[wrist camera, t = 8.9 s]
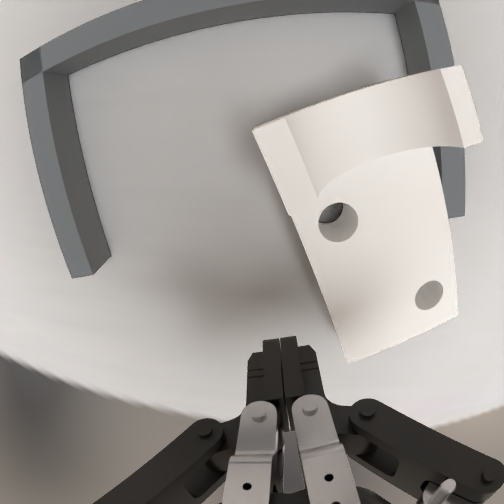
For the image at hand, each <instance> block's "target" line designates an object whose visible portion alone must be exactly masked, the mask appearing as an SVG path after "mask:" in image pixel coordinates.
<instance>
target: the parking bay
mask: <svg viewBox="0 0 504 504" xmlns="http://www.w3.org/2000/svg"><path fill="white" fill-rule="evenodd" d="M323 12H371V13H390V14H395V16H396V20H397V24H398V28H399V32H400V36H401V41H402V45H403V50H404V55H405V60H406V65H407V70H408V75H413V74H417V73H422V72H426V71H431V70H436V69H441V68H446V67H452V66H454V61H453V56H452V51H451V47H450V42H449V38H448V34H447V30H446V26H445V22H444V18H443V14H442V11H441V7H440V4H439V1H438V0H142V1H140V2H137V3H134V4H131V5H128V6H126V7H123V8H120V9H118V10H115V11H113V12H110V13H108V14H105V15H103V16H101V17H98V18H96V19H94V20H92V21H89V22H87V23H85V24H83V25H81V26H79V27H77V28H75V29H73V30H71V31H69V32H67V33H65V34H63V35H61V36H59V37H57V38H55V39H53V40H51V41H50V42H48V43H46V44H44V45H43V46H41V47H39V48H37V49H36V50H34V51H32V52H31V53H29V54H27V55H26V56H24V57H23V58H21V59H20V67H21V78H22V87H23V95H24V103H25V110H26V116H27V122H28V128H29V133H30V139H31V144H32V148H33V153H34V158H35V162H36V166H37V171H38V175H39V179H40V183H41V186H42V190H43V194H44V197H45V201H46V204H47V208H48V211H49V214H50V218H51V221H52V224H53V227H54V230H55V233H56V236H57V239H58V242H59V245H60V248H61V250H62V253H63V256H64V259H65V261H66V264H67V267H68V269H69V272H70V274H71V277H72V278H77V277H84V276H90V275H94V274H95V272H96V271H97V270H98V269H99V268H100V267H101V266H102V265H103V264H104V263H105V262H106V261H107V260H108V259H109V258H110V257H111V254H110V251H109V248H108V245H107V242H106V239H105V235H104V232H103V229H102V226H101V223H100V219H99V216H98V213H97V209H96V206H95V202H94V199H93V195H92V191H91V188H90V184H89V180H88V176H87V172H86V168H85V164H84V160H83V155H82V151H81V146H80V142H79V137H78V132H77V127H76V122H75V117H74V111H73V106H72V100H71V94H70V87H69V80H68V75H69V74H71V73H74V72H76V71H78V70H80V69H82V68H85V67H87V66H89V65H92V64H94V63H96V62H99V61H101V60H104V59H106V58H109V57H111V56H114V55H116V54H119V53H122V52H125V51H127V50H130V49H133V48H136V47H139V46H142V45H145V44H148V43H151V42H154V41H158V40H161V39H164V38H168V37H171V36H175V35H179V34H182V33H186V32H190V31H194V30H198V29H203V28H207V27H212V26H217V25H222V24H227V23H232V22H238V21H244V20H250V19H257V18H264V17H272V16H281V15H292V14H304V13H323ZM432 148H433V151H434V155H435V159H436V163H437V167H438V171H439V175H440V180H441V184H442V189H443V194H444V199H445V204H446V209H447V215H448V218H454V217H460V216H465V156H464V148H460V147H451V146H436V147H432Z"/></svg>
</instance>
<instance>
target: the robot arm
mask: <svg viewBox="0 0 504 504" xmlns="http://www.w3.org/2000/svg"><path fill="white" fill-rule="evenodd" d="M280 342H281V347H280ZM288 416H289V420H288ZM289 422H290V428H291V431H294V430H295V435H296V442H297V448H298V453H299V458H300V463H301V469H302V474H303V479H304V485H305V489H304V490H301V491H298V492H295V493H292V494H284V489H283V475H284V444H285V438H284V432H287V431H289ZM346 454H348V456H349V457H350V458H351V459H353V460H354V461H357V463H359V464H361V465H362V466H364V467H365V468H367V469H368V470H370V471H371V472H373V473H375V474H376V475H378V476H379V477H381V478H383V479H384V480H386V481H387V482H389V483H391V484H393V485H394V486H396V487H397V488H399V489H401V490H403V491H404V492H406V493H408V494H409V495H411V496H413V497H415V498H416V499H418V500H417V502H416V504H483V503H484V502H485V501H487V500H488V499H489V498H490V497H491V496H492V495H493V494H494V493H495V492H496V491H497V490H498V489H499V488H500V487H501V486H502V485H503V483H504V465H503V464H502V463H501V462H500V461H498V460H496V459H494V458H491V457H489V456H486V455H485V454H482V453H480V452H478V451H476V450H474V449H472V448H470V447H467V446H465V445H463V444H461V443H459V442H457V441H455V440H453V439H451V438H449V437H446V436H445V435H442V434H441V433H439V432H437V431H435V430H433V429H431V428H429V427H427V426H425V425H423V424H421V423H419V422H417V421H415V420H413V419H411V418H409V417H407V416H405V415H404V414H402V413H400V412H398V411H396V410H394V409H392V408H391V407H389V406H387V405H385V404H383V403H381V402H379V401H377V400H375V399H362V400H359V401H357V402H355V403H354V404H353V405H352V406H340V405H336V404H333V403H332V402H330V401H329V400H328V399H327V398H326V397H325V394H324V390H323V385H322V381H321V376H320V371H319V366H318V362H317V357H316V352H315V351H314V350H313V349H312V348H311V347H310V345H306V346H300V347H298V345H297V339H296V336H291V337H284V338H280V341H279V338H278V339H271V340H263V352H257V353H252V355H251V357H250V359H249V360H248V372H247V398H246V407H245V408H244V409H243V411H242V413H241V414H240V415H239V416H238V417H236V418H235V419H232V420H230V421H227V422H223V423H219V422H218V421H217V420H214V419H210V418H206V419H201V420H198V421H196V422H195V423H193V424H192V425H191V426H190V427H189V428H188V429H187V430H185V431H184V432H183V433H182V434H181V435H179V436H178V437H177V438H176V439H175V440H174V441H172V442H171V443H170V444H169V445H168V446H167V447H165V448H164V449H163V450H162V451H161V452H159V453H158V454H157V455H156V456H154V457H153V458H152V459H151V460H149V461H148V462H147V463H146V464H144V465H143V466H142V467H141V468H140V469H138V470H137V471H136V472H135V473H133V474H132V475H131V476H129V477H128V478H127V479H125V480H124V481H123V482H121V483H120V484H119V485H118V486H116V487H115V488H114V489H112V490H111V491H109V492H108V493H107V494H105V495H104V496H103V497H102V498H100V499H99V500H97V501H96V502H94V503H93V504H201V503H202V502H204V501H205V500H206V498H208V497H209V496H210V495H211V494H212V493H213V492H214V491H215V490H216V489H217V488H218V487H219V486H220V485H222V483H224V482H225V481H226V482H225V488H224V495H223V501H222V503H219V504H391V503H389V502H388V501H386V500H385V499H383V498H382V497H381V496H379V495H377V494H376V493H374V492H372V491H370V490H368V489H365V488H362V487H357V486H355V482H354V479H353V476H352V472H351V469H350V466H349V462H348V459H347V456H346Z"/></svg>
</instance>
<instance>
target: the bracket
mask: <svg viewBox="0 0 504 504" xmlns="http://www.w3.org/2000/svg"><path fill="white" fill-rule="evenodd" d="M252 132H253V135H254V137H255V139H256V141H257V143H258V146H259V148H260V150H261V152H262V155H263V157H264V159H265V161H266V164H267V166H268V168H269V171H270V173H271V175H272V177H273V180H274V182H275V184H276V187H277V189H278V191H279V194H280V196H281V198H282V201H283V203H284V206H285V208H286V210H287V213H288V215H289V216H290V215H291V217H292V219H293V222H294V224H295V226H296V229H297V231H298V234H299V236H300V239H301V241H302V244H303V246H304V249H305V251H306V254H307V256H308V259H309V261H310V264H311V266H312V269H313V272H314V274H315V277H316V279H317V282H318V285H319V287H320V290H321V292H322V295H323V298H324V300H325V303H326V306H327V308H328V311H329V314H330V316H331V319H332V322H333V325H334V327H335V330H336V333H337V336H338V338H339V341H340V344H341V347H342V350H343V353H344V355H345V358H346V361H347V364H350V363H353V362H355V361H358V360H361V359H363V358H366V357H368V356H371V355H373V354H376V353H378V352H380V351H383V350H385V349H388V348H390V347H392V346H395V345H397V344H399V343H402V342H404V341H406V340H408V339H410V338H413V337H415V336H417V335H419V334H421V333H423V332H426V331H428V330H430V329H432V328H434V327H436V326H438V325H440V324H442V323H444V322H446V321H448V320H450V319H452V318H454V317H456V316H458V301H457V286H456V274H455V264H454V255H453V247H452V240H451V233H450V227H449V220H448V215H447V209H446V204H445V199H444V194H443V189H442V184H441V180H440V175H439V171H438V167H437V163H436V159H435V155H434V151H433V148H432V147H436V146H451V147H460V148H466V147H469V146H471V145H474V144H477V143H480V142H482V141H483V137H482V133H481V128H480V124H479V121H478V117H477V113H476V109H475V106H474V102H473V99H472V96H471V92H470V89H469V86H468V83H467V80H466V77H465V74H464V71H463V69H462V66H461V65H457V66H452V67H446V68H441V69H436V70H431V71H426V72H422V73H417V74H413V75H408V76H404V77H400V78H396V79H392V80H388V81H384V82H380V83H377V84H373V85H370V86H367V87H363V88H360V89H357V90H354V91H351V92H348V93H345V94H342V95H339V96H336V97H333V98H330V99H327V100H324V101H321V102H319V103H316V104H313V105H310V106H307V107H305V108H302V109H299V110H297V111H294V112H291V113H289V114H286V115H284V116H281V117H279V118H276V119H274V120H271V121H269V122H266V123H264V124H261V125H259V126H257V127H254V128H253V130H252ZM334 203H343V211H342V213H341V215H340V217H339V218H338V219H337V220H335V221H334V222H332V223H328V224H323V223H319V222H318V221H319V217H320V215H321V213H322V211H323V210H324V209H325V208H326V207H328V206H329V205H331V204H334Z"/></svg>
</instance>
